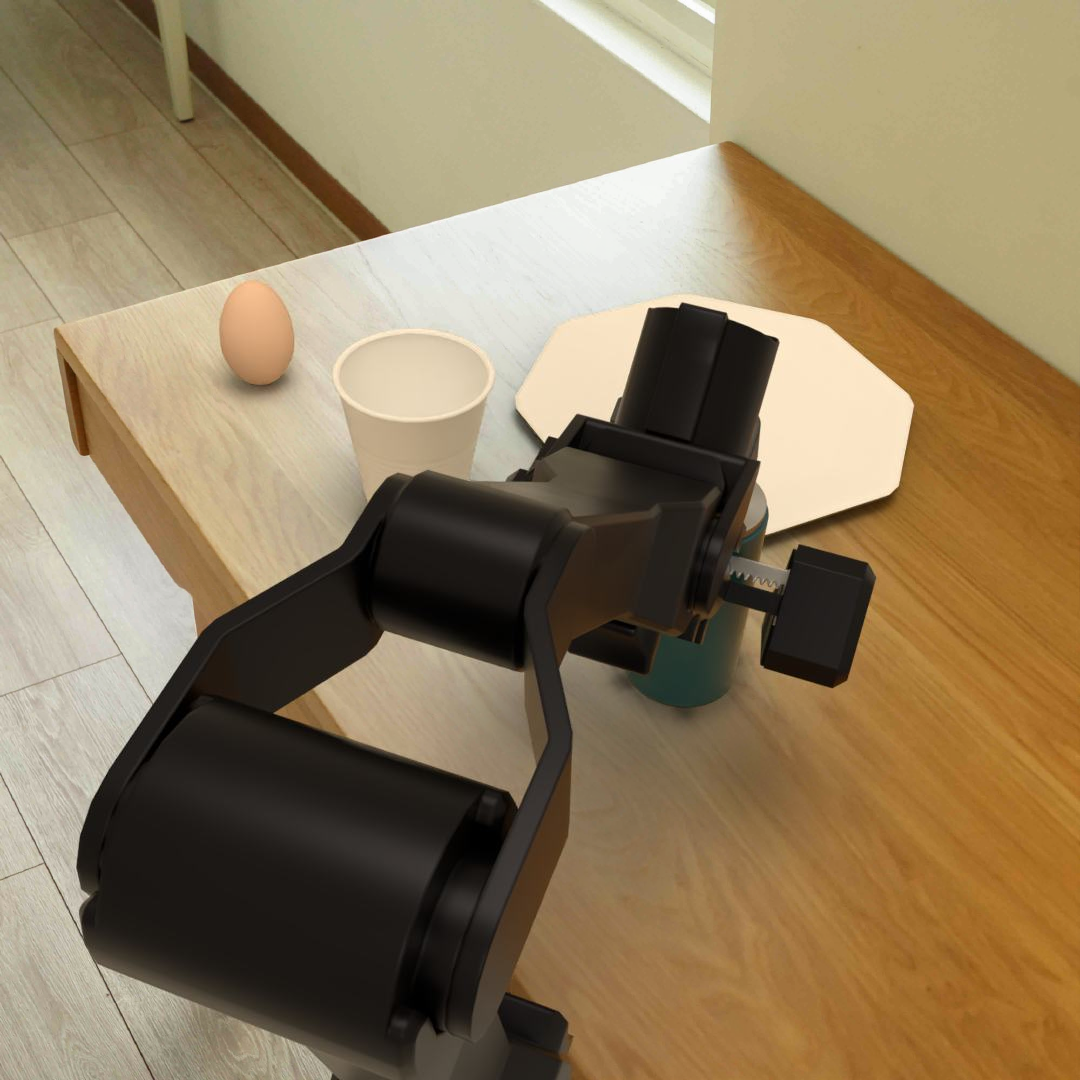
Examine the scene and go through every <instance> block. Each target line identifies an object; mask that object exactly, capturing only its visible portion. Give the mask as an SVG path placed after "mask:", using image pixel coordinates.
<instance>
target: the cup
mask: <svg viewBox="0 0 1080 1080" xmlns="http://www.w3.org/2000/svg"><path fill="white" fill-rule="evenodd" d="M331 373H332V374H331V381H332V384H333V388H334V390H335V393H337V394H338V396H339V398H340V401H341V405H342V410H343V413H344V418H345V421H346V424H347V425H346V426H347V430H348V433H349V437H350V440H351V444H352V447H353V452H354V456H355V459H356V463H357V468H358V470H359V474H360V479H361V482H362V483H361V484H362V486H363V487H362V488H363V490H364V495H365V498H366V502H367V503H368V502H369V501H370V499H371V498H372V496H373V494H374V493H375V492H376V490H377V489H378V488H379V487H380V485H381V484H382V483H383V482H384V480H385V479H386V478H387V477H389V476H391V475H394V474H396V473H398V472H399V473H402V474H406V475H409V476H415V475H416V474H419V473H421V472H423V471H426V470H431V471H434V472H438V473H441V474H445V475H449V476H452V477H456V478H459V479H463V480H467V481H470V474H471V470H472V466H473V462H474V458H475V453H476V448H477V445H478V440H479V435H480V431H481V426H482V423H483V420H484V419H483V418H484V414H485V411H486V406H487V401H488V397H489V395H490V394H491V392H492V391H493V389H494V385H495V383H496V371H495V367H494V364H493V362H492V360H491V359H490V357H489V356H488V355H487V354H486V353H485V351H484V350H483V349H481V348H480V347H479V346H478V345H476V344H475V343H473V342H471V341H470V340H467V339H465V338H464V337H461V336H458V335H456V334H453V333H451V332H446V331H443V330H442V331H441V330H438V329H437V330H436V329H427V328H397V329H390V330H385V331H381V332H376V333H373V334H371V335H368V336H365V337H363V338H361V339H359V340H357V341H356V342H353V343H352V344H350V345H349V346H348V347H347V348H346V349H344V350H343V351H342V352H341V353H340V354H339V356H338V357H337V358H336V360H335V362H334V365H333V368H332V372H331Z"/></svg>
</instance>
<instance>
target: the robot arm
mask: <svg viewBox="0 0 1080 1080" xmlns="http://www.w3.org/2000/svg"><path fill="white" fill-rule="evenodd" d="M779 343H780V342H779V339H778V338H776V337H773V336H769V335H765V334H763V333H762V332H760V331H758V330H755V329H753V328H751V327H749V326H746V325H744V324H741V323H738V322H736V321H733V320H730V319H729V318H728V315H727V313H726V312H722V311H718V310H714V309H709V308H705V307H701V306H697V305H692V304H688V303H684V302H682V303H681V304H680V306H679V308H674V307H656V308H648V311H647V314H646V317H645V321H644V324H643V328H642V331H641V334H640V338H639V341H638V345H637V348H636V352H635V355H634V358H633V362H632V365H631V369H630V372H629V375H628V379H627V382H626V386H625V389H624V392H623V396H622V397H620V398H618V400H617V403H616V405H615V408H614V410H613V413H612V416H611V418H610V422H608V421H604V420H600V419H596V418H593V417H589V416H585V415H581V414H576V415H575V416H574V418H573V419H572V420H571V422H570V423H569V425H568V426H567V427H566V429H565V430H564V431H563V433H562V434H561V435H560V437H559V438H555V437H551V436H548V438H547V439H546V441H545V443H544V444H542V447H541V448H540V450H539V451H538V453H537V455H536V456H535V458H534V460H533V461H532V463H531V464H530V466H529V468H528V469H525V468H521V467H519V469H517V470H515V471H514V472H513V473H511V474H510V475H508V476H507V477H506V479H505V480H504V481H501V480H499V481H498V480H497V481H495V480H468V481H467V480H463V479H459V478H456V477H452V476H449V475H445V474H441V473H438V472H434V471H431V470H426V471H423V472H421V473H419V474H416V475H415V476H409V475H406V474H402V473H399V472H398V473H396V474H394V475H391V476H389V477H387V478H386V479H385V480H384V482H383V483H382V484H381V485H380V487H379V488H378V489H377V490H376V492H375V493H374V494H373V496H372V498H371V499H370V501H369V502H367V504H366V506H365V507H364V508H363V510H362V512H361V513H360V515H359V516H358V518H357V519H356V522H355V523H354V524H353V526H352V527H351V530H350V531H349V533H348V534H347V536H346V538H345V539H344V541H343V543H342V544H341V545H340V546H339V547H338V548H336V549H334V550H333V551H331V552H329V553H328V554H326V555H324V556H322V557H321V558H318V559H317V560H315V561H313V562H312V563H310V564H308V565H307V566H305V567H303V568H302V569H299V570H298V571H295V572H294V573H292V574H291V575H289V576H287V577H286V578H284V579H282V580H281V581H279V582H277V583H276V584H274V585H271V586H270V587H269V588H267V589H265V590H263V591H261V592H259V593H258V594H256V595H255V596H253V597H250V599H248V600H246V601H244V602H243V603H241V604H239V605H236V607H233V608H232V609H230V610H229V611H227V612H226V613H224V614H222V615H220V616H218V617H217V618H215V619H214V620H213V621H212V622H211V623H209V624H208V625H207V626H206V627H205V628H204V629H203V630H202V631H200V633H199V635H198V637H197V638H196V639H195V641H194V642H193V644H192V646H191V647H190V649H189V650H188V651H187V653H186V654H185V656H184V657H183V659H182V660H181V662H180V663H179V665H178V666H177V667H176V669H175V671H174V672H173V674H171V677H170V678H169V680H167V682H166V684H165V685H164V687H163V688H162V690H161V691H160V693H159V694H158V696H157V697H156V698H155V700H154V701H153V703H152V705H151V706H150V708H149V709H148V710H147V712H146V714H145V715H144V716H143V718H142V719H141V721H140V723H139V724H138V725H137V727H136V728H135V730H134V731H133V733H132V734H131V736H130V737H129V739H128V740H127V742H126V743H125V745H124V746H123V748H122V749H121V751H120V752H119V754H118V755H117V756H116V758H115V760H114V761H113V763H112V764H111V765H110V767H109V768H108V770H107V771H106V774H105V775H104V777H103V779H102V781H101V783H100V785H99V787H98V789H97V790H96V792H95V794H94V795H93V798H92V799H91V801H90V803H89V807H88V809H87V813H86V816H85V819H84V822H83V825H82V828H81V831H80V833H79V838H78V848H77V857H76V863H75V865H76V866H75V868H76V873H77V878H78V881H79V886H80V890H81V891H82V892H83V893H85V894H86V895H88V896H89V897H87V898H86V899H85V900H84V901H83V902H81V905H80V906H79V910H78V918H79V923H80V928H81V934H82V938H83V943H84V945H85V947H86V949H87V951H88V952H89V954H90V955H91V957H92V958H93V960H94V961H95V963H96V964H97V965H98V966H101V967H103V968H106V969H108V970H111V971H113V972H115V973H117V974H121V975H123V976H125V977H128V978H131V979H134V980H136V981H139V982H140V983H144V984H146V985H149V986H151V987H154V988H156V989H159V990H161V991H164V992H167V993H169V994H172V995H174V996H177V997H179V998H182V999H184V1000H186V1001H189V1002H192V1003H194V1004H197V1005H200V1006H201V1007H205V1008H207V1009H210V1010H211V1011H212V1010H213V1011H215V1012H217V1013H220V1014H222V1015H225V1016H227V1017H230V1018H233V1019H235V1020H237V1021H240V1022H242V1023H245V1024H248V1025H251V1026H253V1027H255V1028H258V1029H261V1030H263V1031H266V1032H269V1033H271V1034H274V1035H276V1036H279V1037H281V1038H283V1039H285V1040H289V1041H291V1042H293V1043H296V1044H299V1045H301V1046H304V1047H305V1048H307V1049H308V1051H310V1052H311V1053H312V1054H313V1056H315V1057H316V1058H317V1059H318V1060H319V1062H321V1063H322V1064H323V1065H324V1066H325V1067H326V1068H327V1069H328V1070H329V1071H330V1072H331V1077H330V1080H571V1078H572V1073H573V1072H572V1071H573V1064H572V1062H571V1060H570V1059H571V1058H570V1057H569V1056H568V1054H569V1051H570V1048H571V1046H572V1044H573V1040H574V1035H573V1034H569V1028H570V1027H569V1024H570V1023H569V1021H568V1019H566V1017H564V1015H563V1014H562V1013H561V1012H560V1010H557V1009H554V1008H551V1007H548V1006H546V1005H543V1004H541V1003H538V1002H535V1001H532V1000H531V999H527V998H524V997H521V996H519V995H516V994H513V993H511V992H508V991H507V990H508V987H509V985H510V982H511V980H512V978H513V975H514V973H515V970H516V967H517V966H518V962H519V960H520V957H521V955H522V953H523V950H524V948H525V945H526V943H527V940H528V938H529V936H530V933H531V930H532V928H533V926H534V922H535V920H536V918H537V915H538V913H539V910H540V908H541V906H542V903H543V900H544V898H545V895H546V893H547V890H548V888H549V885H550V883H551V881H552V878H553V876H554V873H555V871H556V868H557V865H558V864H559V860H560V858H561V856H562V853H563V850H564V848H565V845H566V843H567V840H568V838H569V830H570V821H571V816H570V815H571V797H572V795H571V791H572V765H573V744H574V743H573V741H574V740H573V738H574V732H573V727H572V722H571V721H572V720H571V717H570V713H569V709H568V703H567V698H566V695H565V689H564V686H563V679H562V675H561V669H560V668H561V665H562V663H563V661H564V659H565V657H566V656H567V655H566V654H567V652H568V653H569V654H570V655H574V656H577V657H579V658H580V657H581V658H584V659H587V660H591V661H594V662H597V663H601V664H603V665H607V666H610V667H614V668H617V669H621V670H623V671H626V670H627V671H630V672H633V673H636V674H640V675H643V676H647V675H649V673H650V671H651V669H652V665H653V662H654V659H655V655H656V652H657V648H658V645H659V641H660V638H661V634H665V635H669V636H672V637H676V638H679V639H683V640H686V641H689V642H693V643H696V644H700V645H702V644H703V640H704V637H705V633H706V630H707V626H708V623H709V619H710V618H712V617H713V616H714V615H715V614H716V613H717V611H718V610H719V609H720V607H721V606H722V604H723V602H724V601H725V602H729V603H732V604H736V605H739V606H743V607H746V608H749V610H754V611H757V612H761V613H764V617H763V620H762V624H761V628H760V629H761V630H760V633H761V634H760V652H759V653H760V654H759V655H760V656H759V665H760V666H761V667H762V668H763V669H765V670H768V671H771V672H775V673H779V674H782V675H785V676H788V677H792V678H794V679H799V680H801V681H805V682H809V683H812V684H815V685H818V686H821V687H826V688H830V689H835V688H836V687H838V686H839V685H842V684H844V683H845V682H847V681H848V679H849V677H850V676H849V675H850V673H851V670H852V666H853V662H854V659H855V655H856V651H857V649H858V648H857V647H858V644H859V641H860V638H861V634H862V629H863V626H864V623H865V621H866V620H865V619H866V616H867V613H868V609H869V605H870V602H871V598H872V594H873V591H874V588H875V585H876V581H877V576H876V574H875V573H874V571H873V569H872V567H871V565H870V563H869V562H866V561H863V560H861V559H857V558H856V559H855V558H853V557H849V556H845V555H841V554H837V553H834V552H831V551H827V550H823V549H820V548H815V547H812V546H808V545H805V544H801V543H798V546H797V548H792V550H791V552H790V556H789V559H788V561H787V563H786V567H785V569H784V568H782V567H777V566H774V565H771V564H766V563H763V562H761V561H759V562H756V561H752V560H749V559H745V558H742V557H738V556H734V555H732V553H733V552H737V553H739V552H740V549H741V546H742V542H743V539H744V535H745V532H746V528H747V527H746V526H745V524H744V520H745V517H746V514H747V511H748V507H749V504H750V500H751V497H752V493H753V490H754V486H755V483H756V479H757V476H758V472H759V469H760V464H761V461H758V460H757V458H758V449H759V438H760V428H761V421H760V418H759V413H760V409H761V406H762V402H763V399H764V395H765V392H766V388H767V385H768V381H769V378H770V374H771V371H772V368H773V364H774V361H775V357H776V354H777V350H778V347H779ZM734 571H735V572H736V578H739V577H740V576H741V574H744V580H746V581H747V579H748V578H749V577H750V576H752V582H753V583H756V581H757V580H758V579H759V585H760V586H763V585H764V583H766V581H767V587H768V588H771V587H772V586H773V584H774V583H775V587H774V589H773V591H770V590H767V589H763V588H759V587H755V586H754V587H752V586H749V585H745V584H741V583H738V582H734V581H731V580H730V576H731V575H732V574H733V572H734ZM385 632H387V633H390V634H394V635H397V636H400V637H402V638H406V639H410V640H413V641H416V642H420V643H422V644H426V645H428V646H433V647H434V648H438V649H443V650H445V651H448V652H451V653H455V654H457V655H461V656H465V657H468V658H471V659H474V660H477V661H481V662H483V663H487V664H489V665H490V664H491V665H493V666H496V667H500V668H503V669H506V670H510V671H512V672H515V673H516V672H517V673H523V678H524V679H523V681H524V682H523V684H524V685H523V688H524V689H523V691H524V697H523V698H524V711H525V714H526V720H527V725H528V731H529V736H530V741H531V747H532V752H533V757H534V763H535V770H534V772H533V774H532V777H531V779H530V781H529V783H528V786H527V788H526V789H525V793H524V795H523V797H522V799H521V802H520V804H519V806H518V804H517V803H516V801H515V799H514V797H513V796H512V794H511V792H510V791H508V790H505V789H503V788H500V787H497V786H494V785H491V784H488V783H484V782H481V781H478V780H475V779H473V778H469V777H468V776H467V777H466V776H463V775H461V774H457V773H454V772H451V771H448V770H444V769H443V768H439V767H436V766H433V765H430V764H427V763H424V762H421V761H418V760H415V759H413V758H409V757H406V756H404V755H401V754H397V753H394V752H391V751H388V750H385V749H382V748H379V747H377V746H376V747H375V746H373V745H370V744H367V743H364V742H361V741H358V740H355V739H352V738H349V737H346V736H343V735H340V734H336V733H333V732H331V731H328V730H325V729H322V728H318V727H315V726H313V725H311V724H310V725H309V724H306V723H304V722H301V721H298V720H294V719H292V718H289V717H286V716H282V715H279V714H277V713H276V712H278V711H280V710H281V709H283V708H284V707H286V706H287V705H289V704H290V703H292V702H294V701H295V700H297V699H299V698H300V697H302V696H303V695H305V694H307V693H309V692H310V691H312V690H313V689H314V688H316V687H318V686H320V685H322V684H323V683H325V682H326V681H327V680H329V679H331V678H332V677H334V676H336V675H337V674H339V673H341V672H342V671H344V670H345V669H347V668H348V667H350V666H352V665H353V664H356V662H358V661H360V660H362V659H363V658H364V657H366V656H368V654H369V653H370V652H371V651H372V650H373V649H374V648H375V647H376V646H377V645H378V643H379V642H380V640H381V638H382V637H383V635H384V633H385Z"/></svg>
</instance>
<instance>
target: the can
mask: <svg viewBox="0 0 1080 1080" xmlns="http://www.w3.org/2000/svg"><path fill="white" fill-rule="evenodd" d="M768 518H769V510H768V506H767V500H766V497H765V494H764V492H763V490H762V489H761V487H760V486H759V485H758V484H757V482H756V483H755V486H754V490H753V493H752V497H751V500H750V504H749V507H748V511H747V514H746V517H745V520H744V524H745V526H746V527H747V528H746V532H745V535H744V539H743V542H742V546H741V549H740V552H739V553H737V552H733V553H732V555H734V556H738V557H742V558H745V559H749V560H752V561H756V562H761V561H760V560H761V555H762V551H763V546H764V541H765V538H766V537H765V533H766V528H767V523H768ZM730 580H731V581H734V582H738V583H741V584H745V585H749V586H752V587H755V583H756V582H755V583H753V582H752V576H750V577H749V578H748V579H747V581H746V580H744V574H741V576H740V577H739V578H736V572H735V571H734V572H733V574H732V575H731V576H730ZM749 610H750V608H746V607H743V606H739V605H736V604H732V603H729V602H725V601H724V602H723V604H722V606H721V607H720V609H719V610H718V611H717V613H716V614H715V615H714V616H713V617H712V618H710V619H709V623H708V626H707V630H706V633H705V637H704V640H703V644H702V645H700V644H696V643H693V642H689V641H686V640H683V639H679V638H676V637H672V636H669V635H665V634H661V638H660V641H659V645H658V648H657V652H656V655H655V659H654V662H653V665H652V669H651V671H650V673H649V675H647V676H643V675H640V674H636V673H633V672H630V671H627V670H625V673H626V675H627V676H628V678H629V680H630V682H631V683H632V685H634V687H635V688H636V689H638V691H640V692H641V693H642V694H644V695H645V696H646V697H649V698H650V699H652V700H654V701H656V702H659V703H662V704H665V705H669V706H673V707H681V708H692V707H699V706H700V707H701V706H703V705H707V704H709V703H713V702H715V701H716V700H718V699H720V698H721V697H722V696H723V695H724V694H726V693H727V692H728V690H729V689H730V688H731V687H732V685H733V683H734V680H735V677H736V671H737V667H738V663H739V659H740V653H741V649H742V644H743V641H744V640H743V639H744V636H745V630H746V625H747V622H748V621H747V620H748V616H749Z"/></svg>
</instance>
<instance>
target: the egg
mask: <svg viewBox="0 0 1080 1080" xmlns="http://www.w3.org/2000/svg"><path fill="white" fill-rule="evenodd" d="M218 334H219V344H220V345H219V346H220V349H221V350H220V351H221V354H222V356H223V358H224V361H225V362H226V364H227V365H228V367H229V368H230V370H231V371H232V372H233V373H234V374H235V375H236V376H237V377H238V378H240V380H242V381H244V382H246V383H249V384H250V385H255V386H266V385H269V384H271V383H273V382H275V381H276V380H278V379H280V378H281V376H282V375H283V374H284V373H285V372H286V370H287V369H288V367H289V365H290V363H291V361H292V359H293V355H294V351H295V331H294V326H293V320H292V318H291V315H290V312H289V311H288V308H287V307H286V305H285V302H284V301H283V299H282V298H281V297H280V295H279V294H278V293H277V292H276V290H275V289H273V288H272V287H271V286H269V285H268V284H266V283H264V282H263V281H260V280H254V279H253V280H246V281H244V282H241V283H240V284H238V285H237V286H235V287H234V288H233V289H232V290H231V292H230V293H229V294H228V295H227V297H226V300H225V302H224V304H223V307H222V311H221V314H220V316H219V326H218Z"/></svg>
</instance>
